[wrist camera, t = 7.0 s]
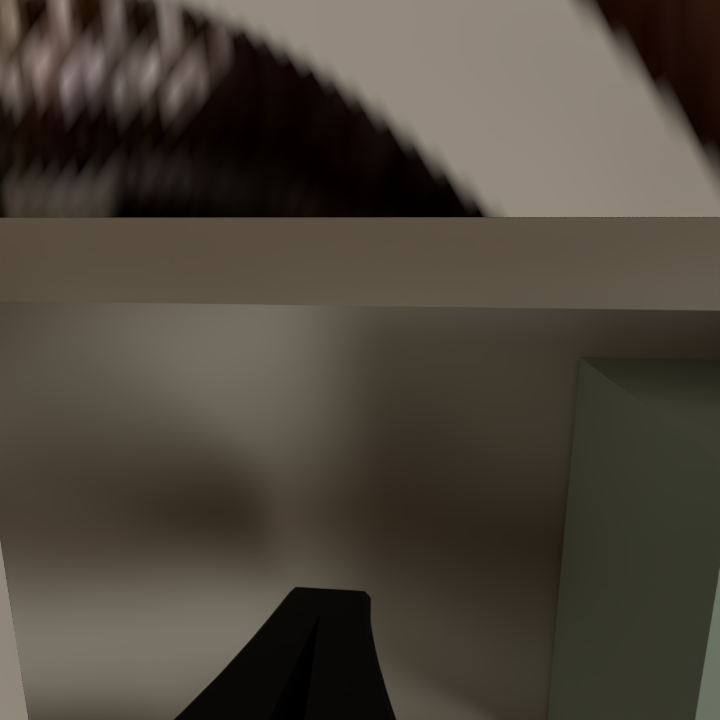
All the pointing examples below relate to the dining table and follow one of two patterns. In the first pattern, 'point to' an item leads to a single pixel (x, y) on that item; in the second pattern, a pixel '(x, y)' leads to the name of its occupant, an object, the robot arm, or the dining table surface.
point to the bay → (311, 438)
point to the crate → (641, 545)
